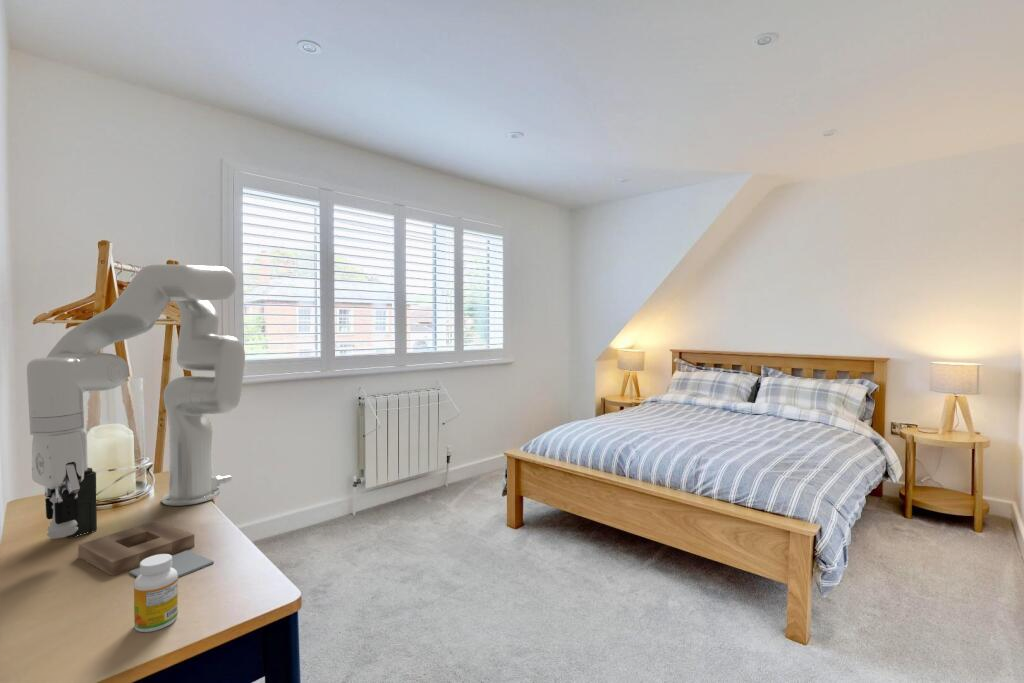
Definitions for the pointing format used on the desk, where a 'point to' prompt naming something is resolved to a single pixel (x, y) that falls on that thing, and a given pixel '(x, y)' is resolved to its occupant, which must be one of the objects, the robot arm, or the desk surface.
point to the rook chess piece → (60, 525)
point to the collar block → (134, 546)
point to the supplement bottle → (155, 594)
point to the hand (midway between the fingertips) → (62, 518)
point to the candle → (86, 496)
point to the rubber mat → (184, 563)
